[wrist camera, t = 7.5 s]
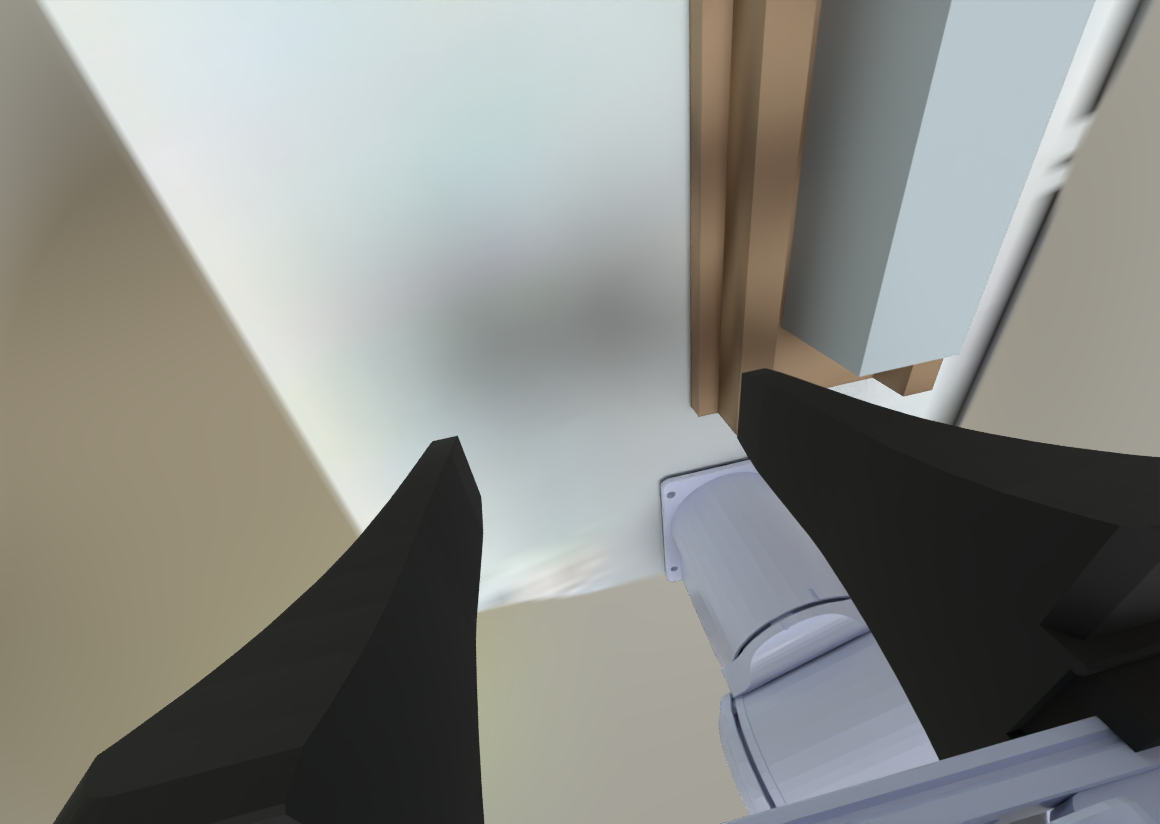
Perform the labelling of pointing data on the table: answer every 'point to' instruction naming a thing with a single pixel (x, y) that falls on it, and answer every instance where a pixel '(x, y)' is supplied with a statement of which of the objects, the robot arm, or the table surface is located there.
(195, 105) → the table surface
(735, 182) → the wooden rail tray
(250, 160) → the table surface
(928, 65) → the orange-capped grey pillar
